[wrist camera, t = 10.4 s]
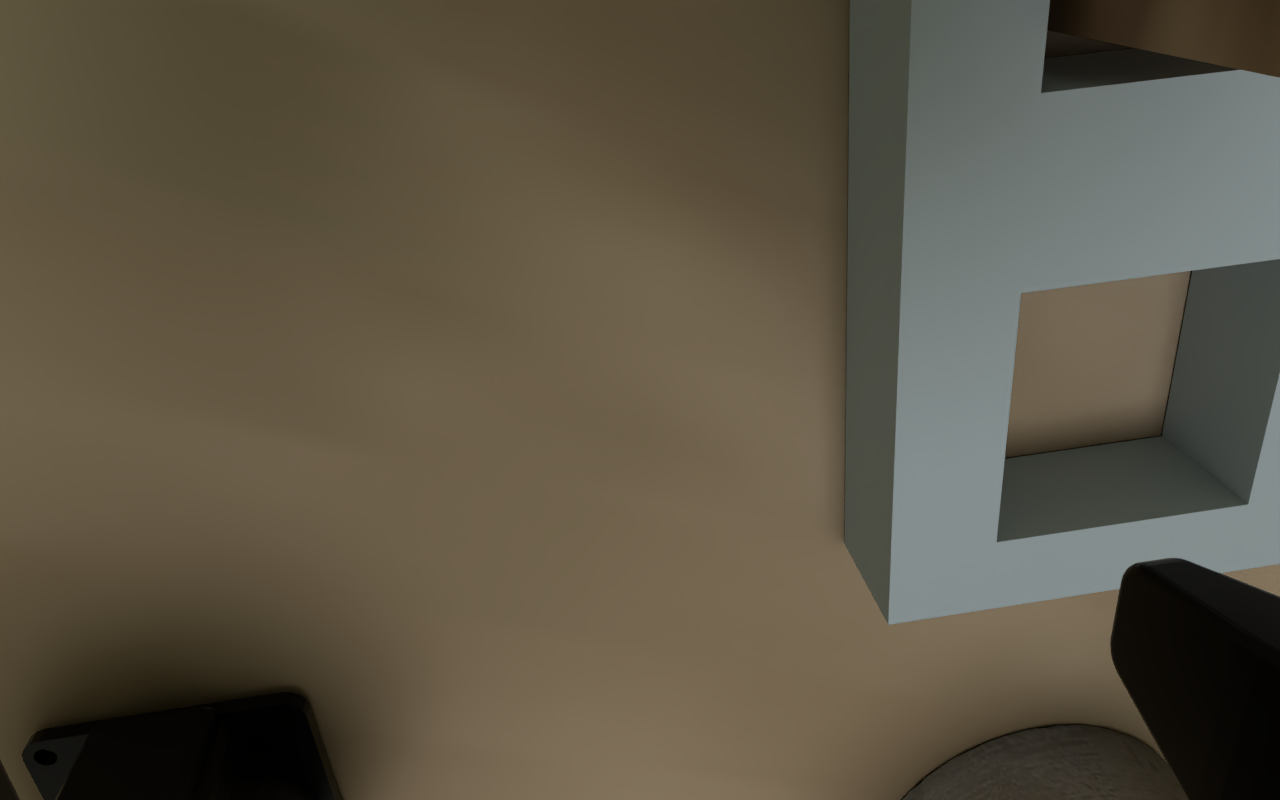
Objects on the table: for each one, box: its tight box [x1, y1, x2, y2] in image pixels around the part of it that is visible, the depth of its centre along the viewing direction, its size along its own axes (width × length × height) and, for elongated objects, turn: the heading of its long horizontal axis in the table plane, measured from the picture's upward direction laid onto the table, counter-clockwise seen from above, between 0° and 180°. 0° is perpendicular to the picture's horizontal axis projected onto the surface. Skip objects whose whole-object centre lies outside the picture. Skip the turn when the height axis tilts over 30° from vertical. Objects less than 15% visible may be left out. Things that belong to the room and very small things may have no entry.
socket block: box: [845, 0, 1280, 625], centre depth 18 cm, size 18×13×3 cm
